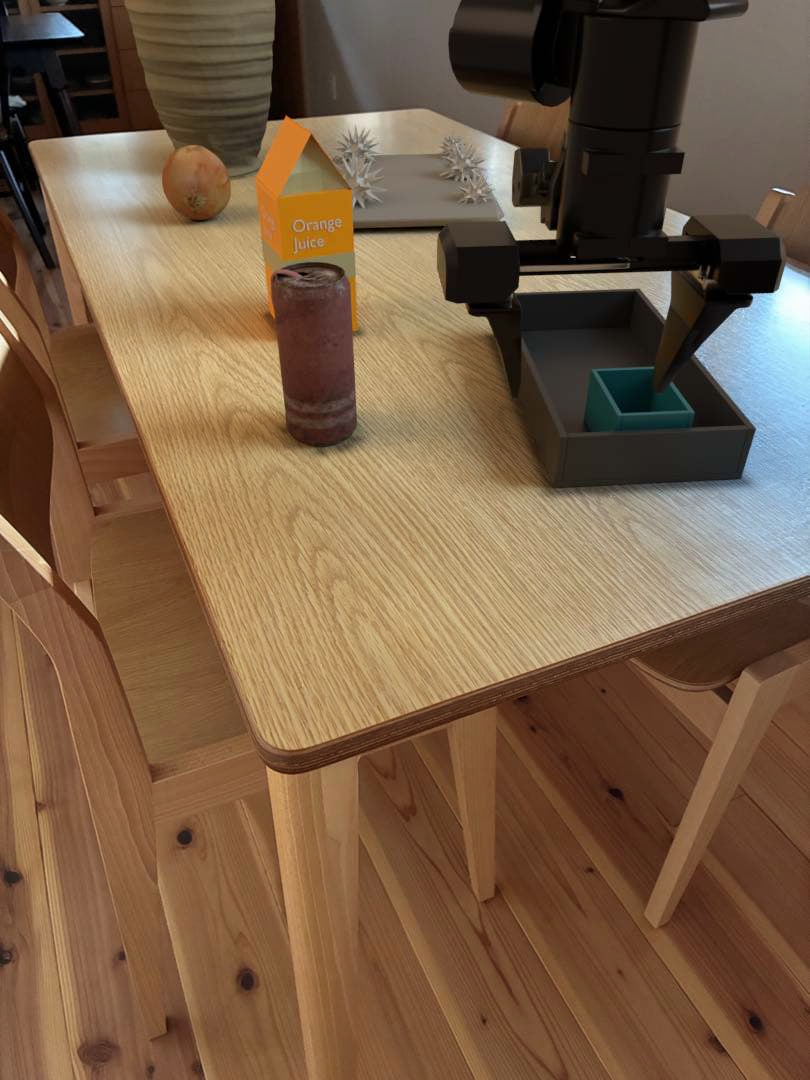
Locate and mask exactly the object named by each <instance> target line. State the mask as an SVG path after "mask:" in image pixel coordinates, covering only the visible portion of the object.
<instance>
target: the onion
mask: <svg viewBox="0 0 810 1080" xmlns="http://www.w3.org/2000/svg"><path fill="white" fill-rule="evenodd" d="M161 173H162V174H161V182H162V183H161V186H162V190H163V194H164V196H165V198H166V200H167V202H168V203H169V204H170V206H171V207H172V208H173V210H175V212H177V213H178V214H180V215H181V216H183V217H185V218H188V219H189V220H191V221H193V220H194V221H204V220H209V219H212V218H214V217H216V216H218V215H220V214H221V213H222V212H223V211H224V210H225V209H226V207H227V206H228V204H229V203H230V199H231V195H232V181H231V178H230V177H231V176H230V177H229V174H228V172H227V169H226V167H225V166H224V164H223V162H222V161H221V160H220V159H219V158H218V157H217V156H216V155H215V154H213V153H212V152H211V151H209V150H208V149H206V148H204V147H202V146H198V145H189V146H185V147H182V148H179V149H177V150H175V149H174V150H173V151H171V153H170V154H169V155H168V156H167V158H166V160H165V162H164V166H163V169H162V172H161Z"/></svg>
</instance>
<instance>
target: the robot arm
mask: <svg viewBox="0 0 810 1080" xmlns="http://www.w3.org/2000/svg"><path fill="white" fill-rule="evenodd" d="M749 6H750V2H749V0H460V2H459V5H458V7H457V10H456V12H455V14H454V19H453V22H452V26H451V27H450V28H449V31H448V40H447V41H448V42H447V44H448V45H447V47H448V58H449V62H450V66H451V70H452V74H453V75H454V77H455V80H456V81H457V82H458V84H459V85H460V86H461V88H462V89H463V90H465V91H466V92H468V93H469V94H473V95H479V96H483V97H490V98H496V99H501V100H507V101H514V102H519V103H524V104H531V105H536V106H541V107H542V106H543V107H547V108H548V107H549V108H555V107H558V106H560V105H562V104H564V103H565V102H567V101H568V100H569V101H570V102H569V107H568V108H569V109H568V118H567V125H566V126H567V127H566V130H563V137H562V140H561V144H560V145H561V146H560V154H559V157H558V160H557V161H551V154H550V149H549V148H548V147H518V148H517V149H515V150H514V152H513V153H514V154H513V164H512V165H513V166H512V177H511V204H512V207H514V208H540V218H539V219H540V221H539V222H540V224H543V225H545V227H546V228H547V230H548V231H550V232H555V231H556V234H555V238H550V239H549V238H547V239H545V238H543V239H516V238H515V236H514V234H513V232H512V230H511V229H510V227H509V225H508V223H507V221H506V220H499V221H487V222H452V223H447V224H446V225H445V226H443V228H442V229H441V230H440V232H438V234H437V240H436V271H437V275H438V278H439V281H440V286H441V289H442V292H443V296H444V300H445V301H447V302H450V303H453V304H455V305H458V304H459V305H460V304H464V305H465V308H466V311H467V314H468V315H470V316H472V317H475V318H486V319H487V321H488V324H489V326H490V329H491V331H492V334H493V336H495V337H494V339H495V343H496V347H497V350H498V353H499V358H500V361H501V366H502V370H503V374H504V377H505V380H506V384H507V388H508V392H509V395H510V398H511V399H512V400H517V399H519V397H518V396H519V391H520V385H521V356H522V307H521V305H520V302H519V300H518V298H517V296H516V294H515V293H516V291H517V290H518V289H519V286H520V277H534V276H535V277H536V276H564V275H567V276H568V275H595V274H598V275H599V274H630V273H658V272H659V273H662V272H670V302H669V306H668V310H667V314H666V318H665V320H666V321H665V325H664V329H663V333H662V337H661V341H660V345H659V349H658V352H657V356H656V360H655V365H654V373H653V381H652V387H653V389H654V391H655V392H656V393H663V392H664V391H665V390H666V388H667V387H668V386H669V385H670V383H671V382H672V381H673V380H674V378H675V377H676V376H677V375H678V373H679V372H680V371H681V370H682V368H683V367H684V366H685V365H686V363H687V362H688V361H689V360H690V358H691V357H692V356H693V355H694V354H696V353H697V351H698V350H699V349H700V348H701V346H702V345H703V344H704V343H705V342H706V341H707V339H709V338H710V337H711V336H712V335H713V334H714V332H716V330H717V329H718V328H720V326H722V324H723V323H724V322H726V320H727V319H728V318H729V317H730V316H731V315H732V314H733V313H734V312H736V311H737V310H738V309H747V308H750V307H751V306H752V304H753V302H754V296H753V295H756V294H758V295H759V294H761V295H763V294H774V293H775V292H777V291H778V290H779V289H780V286H781V282H782V279H783V275H784V272H785V268H786V264H787V260H788V259H787V252H786V251H787V250H786V246H785V245H786V244H784V241H782V239H781V237H779V236H778V235H777V234H775V232H773V231H772V230H770V229H769V228H768V227H766V226H765V225H763V224H762V223H760V222H759V221H758V220H756V219H755V218H754V217H753V216H751V215H750V214H749V213H739V214H738V213H733V214H700V215H697V214H696V215H690V217H689V218H688V219H687V221H686V222H685V224H684V225H683V226H682V231H681V234H679V235H668V234H667V233H666V232H665V231H663V228H664V224H665V218H666V213H667V207H668V201H669V195H670V191H671V186H672V178H673V175H681V174H682V171H683V165H684V160H685V155H686V152H685V151H684V150H682V149H681V148H679V147H678V146H679V140H680V135H681V129H682V124H683V122H682V121H683V118H684V114H685V113H684V112H685V108H686V101H687V96H688V91H689V84H690V79H691V74H692V69H693V63H694V57H695V52H696V46H697V43H698V36H699V31H700V25H701V23H703V22H710V21H718V20H725V19H732V18H739V17H742V16H744V15H745V14H746V13H747V12H748V9H749Z"/></svg>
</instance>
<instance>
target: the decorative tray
mask: <svg viewBox="0 0 810 1080" xmlns="http://www.w3.org/2000/svg"><path fill="white" fill-rule="evenodd" d="M365 129H366V126H364V128H363V129H362V131H361V132H360V135H359V133H358V128H357V124H356V123H355V124H354V136H353V134H352V132H351V131H350V129H349V128H347V132H348V136H349V137H347V136H346V135H345V134H344V133H342V132H341V131H339V133H340V135H341V136H342V137H343V139H344V141H341V140H337V139H336V140H335V141H336V142H337V143H339V144H340V145H341V146H343V147H334V148H332V149H333V150H335V151H338V152H342V154H340V155H335V156H334V157H333V158H332V159H330V160H331V161H332V163H333V164H334V166H335V167H336V168H337V170H338V171H339V173H340V174H341V175H342V177H343V178H344V180H345V181H346V182H347V184H348V185H349V187H350V188H351V189H352V212H353V229H371V228H372V229H373V228H374V229H376V228H379V229H380V228H409V227H411V228H412V227H445V225H446V224H447V223H452V222H487V221H502V219H503V218H504V217H505V212H504V211H503V209H502V207H501V205H500V204H499V202H498V200H497V197H496V196H495V194H494V192H493V191H496V188H492V187H491V186H493V185H494V182H493V183H490V184H488V182H487V180H488V177H485V176H484V175H485V174H482V172H481V171H483V172H484V171H488V169H486V168H484V167H480V166H478V165H480V164H481V163H483V162H485V161H487V159H488V158H483V157H481V156H482V155H484V152H482V153H479V154H477V155H474V154H475V152H476V150H477V147H478V145H479V143H477V144H476V145H475V147H474V148H473V145H474V141H473V142H472V141H470V142H467V140H468V138H465V139H463V135H464V133H462V134H461V132H458V133H457V134H456V135H455V131H452V136H451V134H450V133H447V137H446V136H445V135H442V137H443V139H444V141H443V140H440V141H439V143H440V144H442V146H439V145H438V148H440V149H443V150H442V151H440V152H438V153H411V154H410V153H409V154H405V153H404V154H381V152H377V151H373V150H371V149H373V148H374V147H375V146H377V145H379V142H377V143H373V142H374V140H376V139H377V138H378V136H376V137H373V138H371V139H369V140H367V139H368V137H369V134H370V132H371V129H369V130H368V132H367V133H365ZM372 143H373V144H372ZM467 145H468V146H467ZM465 146H467V148H465ZM472 148H473V149H472Z"/></svg>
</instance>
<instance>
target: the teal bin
mask: <svg viewBox="0 0 810 1080" xmlns="http://www.w3.org/2000/svg"><path fill="white" fill-rule="evenodd" d="M653 373H654V367H632V368H607V369H591V373H590V380H589V387H588V394H587V400H586V407H585V414H584V423H585V425H586V427H587V429H588V431H589V432H609V431H631V430H653V429H675V428H691V426H692V422H693V418H694V414H695V412H694V411H693V410H692V408H691V407H690V405H689V404H688V403H687V401H686V400H685V399H684V397H683V396H682V395H681V393H680V392H679V390H678V389H677V388H676V386H675V385H674V384H673V382H671V383H670V385H669V386H668V387H667V388H666V390H665V391H664V392H663V393H656V392H655V391H654V389H653V387H652V381H653Z"/></svg>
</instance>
